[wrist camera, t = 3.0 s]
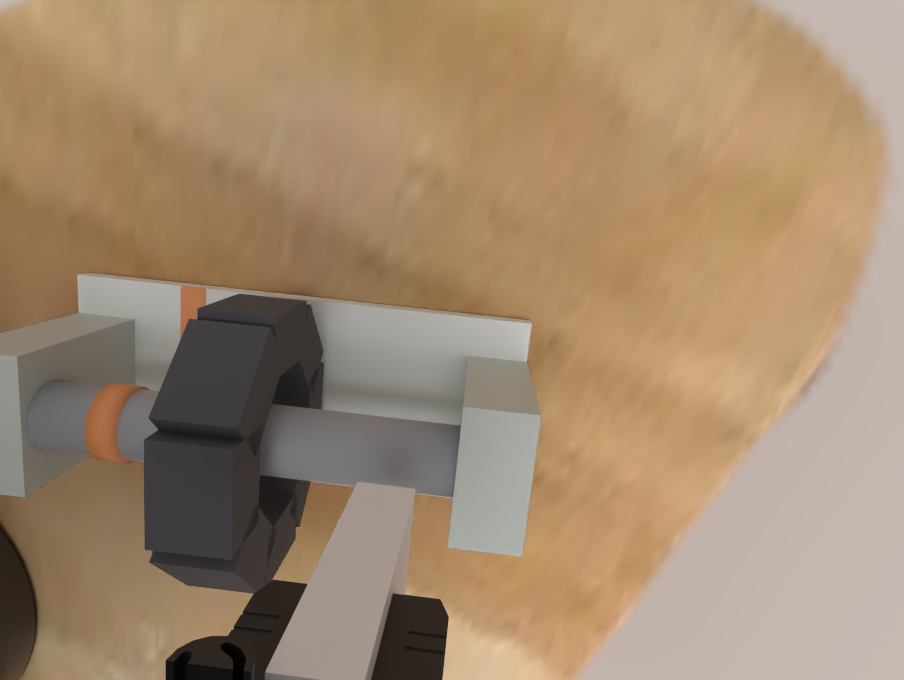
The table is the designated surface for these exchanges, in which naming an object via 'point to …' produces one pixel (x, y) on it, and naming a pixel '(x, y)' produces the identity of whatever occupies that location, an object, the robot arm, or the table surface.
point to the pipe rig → (287, 427)
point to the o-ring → (228, 442)
